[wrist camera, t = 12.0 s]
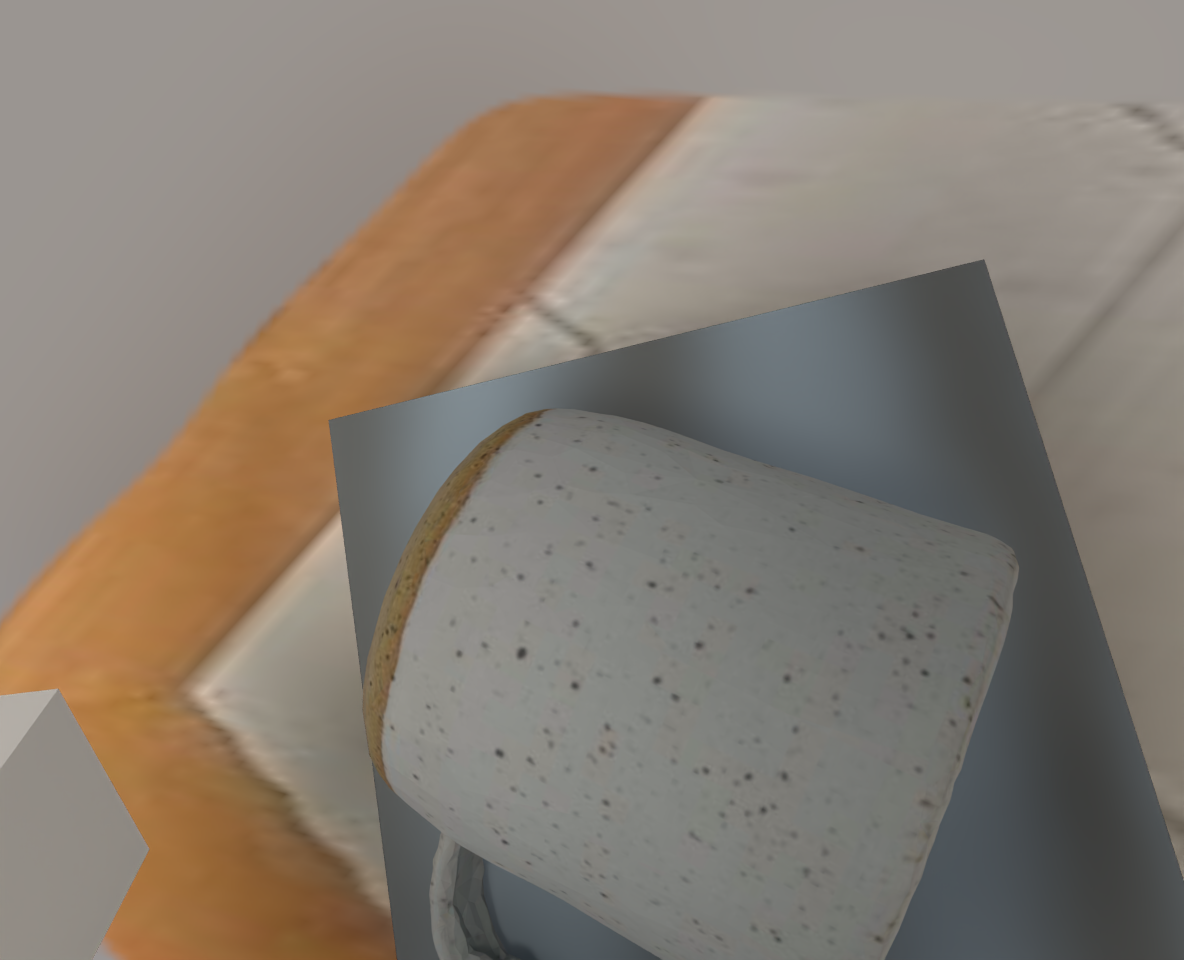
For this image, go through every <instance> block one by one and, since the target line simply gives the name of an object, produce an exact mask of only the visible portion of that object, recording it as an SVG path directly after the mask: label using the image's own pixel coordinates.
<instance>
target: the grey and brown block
mask: <svg viewBox="0 0 1184 960" xmlns="http://www.w3.org/2000/svg"><path fill="white" fill-rule="evenodd" d="M555 408H558V409H576V410H582V411H588V412H593V413H599V414H606V415H614V416H619V417H623V418H627V419H631V420H635V421H639V422H643V423H647V424H650V425H653V426H657V427H660V428H663V429H666V430H669V431H672V432H675V433H677V434H680V435H683V436H686V437H689V438H691V439H694V440H697V441H700V442H702V443H705V444H708V445H710V446H713V447H716V448H719V449H721V450H724V451H727V452H730V453H733V454H737V455H740V456H743V457H746V458H749V459H752V460H755V461H758V462H762V463H765V464H768V465H772V466H775V467H778V468H782V469H785V470H789V471H792V472H796V473H799V474H802V475H806V476H809V477H812V478H815V479H818V480H821V481H824V482H827V483H830V484H833V485H836V486H839V487H842V488H845V489H848V490H851V491H854V492H857V493H860V494H863V495H866V496H869V497H872V498H875V499H878V500H881V501H884V502H886V503H889V504H892V505H895V506H898V507H901V508H904V509H907V510H910V511H913V512H915V513H918V514H921V515H925V516H928V517H931V518H935V519H938V520H941V521H944V522H948V523H951V524H954V525H958V526H961V527H964V528H968V529H971V530H975V531H978V532H981V533H985V534H988V535H990V536H992V537H995V538H997V539H998V540H1001V541H1002V542H1004V543H1005V544H1006V545H1008V546H1009V547H1011V548H1012V549H1013V550H1014V552H1015V556H1016V559H1017V562H1018V565H1019V572H1018V580H1017V583H1016V586H1015V589H1014V592H1013V609H1012V614H1011V618H1010V623H1009V627H1008V631H1007V634H1006V638H1005V642H1004V645H1003V648H1002V651H1001V654H1000V657H999V660H998V663H997V666H996V668H995V671H994V674H993V677H992V680H991V683H990V685H989V688H988V691H987V694H986V697H985V699H984V702H983V705H982V707H981V710H980V713H979V716H978V718H977V721H976V724H975V727H974V730H973V733H972V736H971V739H970V742H969V745H968V748H967V751H966V754H965V758H964V762H963V765H962V769H961V771H960V773H959V775H958V777H957V778H956V780H955V782H954V787H953V791H952V795H951V800H950V802H949V804H948V807H947V809H946V811H945V813H944V816H943V818H942V820H941V823H940V826H939V829H938V832H937V835H936V838H935V841H934V844H933V846H932V848H931V851H930V853H929V856H928V858H927V861H926V865H925V868H924V872H923V875H922V878H921V880H920V882H919V884H918V886H917V888H916V890H915V892H914V894H913V896H912V898H911V901H910V903H909V906H908V908H907V911H906V913H905V916H904V918H903V921H902V924H901V926H900V929H899V931H898V933H897V935H896V937H895V939H894V941H893V943H892V945H891V947H890V949H889V951H888V953H887V955H886V957H885V960H1184V880H1183V877H1182V874H1181V871H1180V868H1179V865H1178V861H1177V858H1176V855H1175V852H1174V849H1173V846H1172V843H1171V840H1170V837H1169V833H1168V830H1167V827H1166V824H1165V821H1164V818H1163V815H1162V812H1161V809H1160V805H1159V802H1158V799H1157V796H1156V793H1155V790H1154V787H1153V784H1152V781H1151V777H1150V774H1149V771H1148V768H1147V765H1146V762H1145V759H1144V756H1143V753H1142V749H1141V746H1140V743H1139V740H1138V737H1137V734H1136V731H1135V728H1134V725H1133V721H1132V718H1131V715H1130V712H1129V709H1128V706H1127V703H1126V700H1125V697H1124V693H1123V690H1122V687H1121V684H1120V681H1119V678H1118V675H1117V672H1116V668H1115V665H1114V662H1113V659H1112V656H1111V653H1110V650H1109V647H1108V644H1107V640H1106V637H1105V634H1104V631H1103V628H1102V625H1101V622H1100V619H1099V616H1098V612H1097V609H1096V606H1095V603H1094V600H1093V597H1092V594H1091V591H1090V588H1089V584H1088V581H1087V578H1086V575H1085V572H1084V569H1083V566H1082V563H1081V560H1080V556H1079V553H1078V550H1077V547H1076V544H1075V541H1074V538H1073V535H1072V532H1071V528H1070V525H1069V522H1068V519H1067V516H1066V513H1065V510H1064V507H1063V504H1062V500H1061V497H1060V494H1059V491H1058V488H1057V485H1056V482H1055V479H1054V475H1053V472H1052V469H1051V466H1050V463H1049V460H1048V457H1047V454H1046V451H1045V447H1044V444H1043V441H1042V438H1041V435H1040V432H1039V429H1038V426H1037V423H1036V419H1035V416H1034V413H1033V410H1032V407H1031V404H1030V401H1029V398H1028V395H1027V391H1026V388H1025V385H1024V382H1023V379H1022V376H1021V373H1020V370H1019V367H1018V363H1017V360H1016V357H1015V354H1014V351H1013V348H1012V345H1011V342H1010V339H1009V335H1008V332H1007V329H1006V326H1005V323H1004V320H1003V317H1002V314H1001V311H1000V307H999V304H998V301H997V298H996V295H995V292H994V289H993V286H992V282H991V279H990V276H989V273H988V270H987V267H986V264H985V261H984V260H980V261H976V262H972V263H968V264H964V265H960V266H955V267H951V268H947V269H943V270H939V271H935V272H931V273H927V274H923V275H919V276H915V277H911V278H907V279H902V280H898V281H894V282H890V283H886V284H882V285H878V286H874V287H870V288H866V289H862V290H858V291H853V292H849V293H845V294H841V295H837V296H833V297H829V298H825V299H821V300H817V301H813V302H809V303H805V304H800V305H796V306H792V307H788V308H784V309H780V310H776V311H772V312H768V313H764V314H760V315H756V316H752V317H747V318H743V319H739V320H735V321H731V322H727V323H723V324H719V325H715V326H711V327H707V328H703V329H699V330H694V331H690V332H686V333H682V334H678V335H674V336H670V337H666V338H662V339H658V340H654V341H650V342H646V343H641V344H637V345H633V346H629V347H625V348H621V349H617V350H613V351H609V352H605V353H601V354H597V355H593V356H588V357H584V358H580V359H576V360H572V361H568V362H564V363H560V364H556V365H552V366H548V367H544V368H539V369H535V370H531V371H527V372H523V373H519V374H515V375H511V376H507V377H503V378H499V379H495V380H491V381H486V382H482V383H478V384H474V385H470V386H466V387H462V388H458V389H454V390H450V391H446V392H442V393H438V394H433V395H429V396H425V397H421V398H417V399H413V400H409V401H405V402H401V403H397V404H393V405H389V406H385V407H380V408H376V409H372V410H368V411H364V412H360V413H356V414H352V415H348V416H344V417H340V418H336V419H332V420H329V427H330V435H331V443H332V451H333V458H334V466H335V474H336V482H337V490H338V498H339V506H340V514H341V521H342V529H343V537H344V545H345V553H346V561H347V569H348V576H349V584H350V592H351V600H352V608H353V616H354V624H355V632H356V639H357V647H358V655H359V663H360V671H361V679H362V687H363V685H364V678H365V672H366V665H367V658H368V654H369V650H370V647H371V643H372V639H373V635H374V632H375V628H376V624H377V621H378V617H379V614H380V610H381V607H382V603H383V600H384V597H385V594H386V592H387V589H388V587H389V585H390V582H391V580H392V577H393V575H394V573H395V570H396V568H397V565H398V563H399V560H400V558H401V556H402V553H403V551H404V549H405V547H406V545H407V543H408V541H409V539H410V537H411V535H412V533H413V531H414V529H415V527H416V526H417V524H418V522H419V521H420V519H421V518H422V516H423V514H424V513H425V511H426V509H427V508H428V506H429V504H430V503H431V501H432V500H433V498H434V496H435V495H436V493H437V492H438V490H439V489H440V487H441V486H442V485H443V484H444V482H445V481H446V480H447V478H448V477H449V476H450V475H451V473H452V472H453V471H454V469H455V468H456V467H457V466H458V465H459V464H460V463H461V462H462V461H463V460H464V459H465V458H466V457H467V456H468V454H469V453H470V452H471V451H472V450H473V449H474V448H475V447H476V446H477V445H478V444H479V443H480V442H481V441H482V440H484V439H485V438H487V437H488V436H489V435H491V434H492V433H493V432H495V431H496V430H497V429H499V428H500V427H502V426H503V425H505V424H507V423H509V422H510V421H512V420H514V419H516V418H518V417H520V416H522V415H524V414H526V413H529V412H534V411H539V410H543V409H555ZM372 765H373V773H374V781H375V789H376V797H377V805H378V813H379V820H380V828H381V836H382V844H383V852H384V860H385V868H386V876H387V883H388V891H389V899H390V907H391V915H392V923H393V931H394V939H395V946H396V954H397V960H440V959H439V956H438V954H437V951H436V949H435V945H434V940H433V935H432V926H431V911H430V898H429V891H430V884H431V878H432V873H433V858H434V856H435V853H436V851H437V849H438V845H439V839H440V834H441V831H439V830H438V829H437V828H436V827H435V826H434V825H432V824H431V823H430V822H429V821H427V820H426V819H425V818H424V817H423V816H421V815H420V814H419V813H418V812H417V811H415V810H414V809H413V808H412V807H410V806H409V805H408V804H407V803H406V802H405V801H403V800H402V799H401V798H400V797H399V796H398V795H397V794H395V793H394V792H393V791H392V790H391V789H390V788H389V787H388V785H387V784H386V783H385V781H384V780H383V779H382V777H381V776H380V775H379V773H378V772H377V769H376V767H375V765H374V763H373V761H372ZM483 864H484V869H485V871H484V876H483V888H484V897H485V900H486V904H487V908H488V911H489V914H490V917H491V920H492V923H493V926H494V929H495V932H496V933H497V935H498V937H499V939H500V941H501V943H502V944H503V946H504V948H505V950H506V952H507V953H508V954H510V955H513V956H515V957H517V958H520V959H522V960H662V959H660V958H659V957H657V956H655V955H654V954H652V953H650V952H649V951H647V950H645V949H643V948H642V947H640V946H638V945H637V944H635V943H633V942H632V941H630V940H628V939H627V938H625V937H623V936H622V935H620V934H618V933H617V932H615V931H613V930H612V929H610V928H608V927H607V926H605V925H603V924H602V923H600V922H598V921H597V920H595V919H593V918H592V917H590V916H588V915H587V914H585V913H583V912H582V911H580V910H578V909H577V908H575V907H573V906H572V905H570V904H569V903H567V902H565V901H564V900H562V899H560V898H558V897H556V896H554V895H553V894H551V893H549V892H547V891H545V890H543V889H541V888H540V887H538V886H536V885H534V884H532V883H530V882H528V881H526V880H524V879H522V878H520V877H518V876H516V875H514V874H512V873H510V872H508V871H506V870H504V869H502V868H500V867H498V866H496V865H494V864H493V863H491V862H489V861H487V860H485V859H484V858H483Z"/></svg>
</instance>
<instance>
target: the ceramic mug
mask: <svg viewBox="0 0 1184 960" xmlns="http://www.w3.org/2000/svg"><path fill="white" fill-rule="evenodd" d="M1018 572H1019V565H1018V562H1017V559H1016V556H1015V552H1014V550H1013V549H1012V548H1011V547H1009V546H1008V545H1006V544H1005V543H1004V542H1002V541H1001V540H998V539H997V538H995V537H992V536H990V535H988V534H985V533H981V532H978V531H975V530H971V529H968V528H964V527H961V526H958V525H954V524H951V523H948V522H944V521H941V520H938V519H935V518H931V517H928V516H925V515H921V514H918V513H915V512H913V511H910V510H907V509H904V508H901V507H898V506H895V505H892V504H889V503H886V502H884V501H881V500H878V499H875V498H872V497H869V496H866V495H863V494H860V493H857V492H854V491H851V490H848V489H845V488H842V487H839V486H836V485H833V484H830V483H827V482H824V481H821V480H818V479H815V478H812V477H809V476H806V475H802V474H799V473H796V472H792V471H789V470H785V469H782V468H778V467H775V466H772V465H768V464H765V463H762V462H758V461H755V460H752V459H749V458H746V457H743V456H740V455H737V454H733V453H730V452H727V451H724V450H721V449H719V448H716V447H713V446H710V445H708V444H705V443H702V442H700V441H697V440H694V439H691V438H689V437H686V436H683V435H680V434H677V433H675V432H672V431H669V430H666V429H663V428H660V427H657V426H653V425H650V424H647V423H643V422H639V421H635V420H631V419H627V418H623V417H619V416H614V415H606V414H599V413H593V412H588V411H582V410H576V409H558V408H555V409H543V410H539V411H534V412H529V413H526V414H524V415H522V416H520V417H518V418H516V419H514V420H512V421H510V422H509V423H507V424H505V425H503V426H502V427H500V428H499V429H497V430H496V431H495V432H493V433H492V434H491V435H489V436H488V437H487V438H485V439H484V440H482V441H481V442H480V443H479V444H478V445H477V446H476V447H475V448H474V449H473V450H472V451H471V452H470V453H469V454H468V456H467V457H466V458H465V459H464V460H463V461H462V462H461V463H460V464H459V465H458V466H457V467H456V468H455V469H454V471H453V472H452V473H451V475H450V476H449V477H448V478H447V480H446V481H445V482H444V484H443V485H442V486H441V487H440V489H439V490H438V492H437V493H436V495H435V496H434V498H433V500H432V501H431V503H430V504H429V506H428V508H427V509H426V511H425V513H424V514H423V516H422V518H421V519H420V521H419V522H418V524H417V526H416V527H415V529H414V531H413V533H412V535H411V537H410V539H409V541H408V543H407V545H406V547H405V549H404V551H403V553H402V556H401V558H400V560H399V563H398V565H397V568H396V570H395V573H394V575H393V577H392V580H391V582H390V585H389V587H388V589H387V592H386V594H385V597H384V600H383V603H382V607H381V610H380V614H379V617H378V621H377V624H376V628H375V632H374V635H373V639H372V643H371V647H370V650H369V654H368V658H367V665H366V672H365V678H364V685H363V715H364V722H365V728H366V735H367V742H368V748H369V755H370V757H371V759H372V761H373V763H374V765H375V767H376V769H377V772H378V773H379V775H380V776H381V777H382V779H383V780H384V781H385V783H386V784H387V785H388V787H389V788H390V789H391V790H392V791H393V792H394V793H395V794H397V795H398V796H399V797H400V798H401V799H402V800H403V801H405V802H406V803H407V804H408V805H409V806H410V807H412V808H413V809H414V810H415V811H417V812H418V813H419V814H420V815H421V816H423V817H424V818H425V819H426V820H427V821H429V822H430V823H431V824H432V825H434V826H435V827H436V828H437V829H438V830H439V831H441V834H440V839H439V845H438V849H437V851H436V853H435V856H434V858H433V873H432V878H431V884H430V891H429V898H430V911H431V926H432V935H433V940H434V945H435V949H436V951H437V954H438V956H439V959H440V960H522V959H520V958H517V957H515V956H513V955H510V954H508V953H507V952H506V950H505V948H504V946H503V944H502V943H501V941H500V939H499V937H498V935H497V933H496V932H495V929H494V926H493V923H492V920H491V917H490V914H489V911H488V908H487V904H486V900H485V897H484V888H483V876H484V871H485V869H484V864H483V858H484V859H485V860H487V861H489V862H491V863H493V864H494V865H496V866H498V867H500V868H502V869H504V870H506V871H508V872H510V873H512V874H514V875H516V876H518V877H520V878H522V879H524V880H526V881H528V882H530V883H532V884H534V885H536V886H538V887H540V888H541V889H543V890H545V891H547V892H549V893H551V894H553V895H554V896H556V897H558V898H560V899H562V900H564V901H565V902H567V903H569V904H570V905H572V906H573V907H575V908H577V909H578V910H580V911H582V912H583V913H585V914H587V915H588V916H590V917H592V918H593V919H595V920H597V921H598V922H600V923H602V924H603V925H605V926H607V927H608V928H610V929H612V930H613V931H615V932H617V933H618V934H620V935H622V936H623V937H625V938H627V939H628V940H630V941H632V942H633V943H635V944H637V945H638V946H640V947H642V948H643V949H645V950H647V951H649V952H650V953H652V954H654V955H655V956H657V957H659V958H660V959H662V960H885V957H886V955H887V953H888V951H889V949H890V947H891V945H892V943H893V941H894V939H895V937H896V935H897V933H898V931H899V929H900V926H901V924H902V921H903V918H904V916H905V913H906V911H907V908H908V906H909V903H910V901H911V898H912V896H913V894H914V892H915V890H916V888H917V886H918V884H919V882H920V880H921V878H922V875H923V872H924V868H925V865H926V861H927V858H928V856H929V853H930V851H931V848H932V846H933V844H934V841H935V838H936V835H937V832H938V829H939V826H940V823H941V820H942V818H943V816H944V813H945V811H946V809H947V807H948V804H949V802H950V800H951V795H952V791H953V787H954V782H955V780H956V778H957V777H958V775H959V773H960V771H961V769H962V765H963V762H964V758H965V754H966V751H967V748H968V745H969V742H970V739H971V736H972V733H973V730H974V727H975V724H976V721H977V718H978V716H979V713H980V710H981V707H982V705H983V702H984V699H985V697H986V694H987V691H988V688H989V685H990V683H991V680H992V677H993V674H994V671H995V668H996V666H997V663H998V660H999V657H1000V654H1001V651H1002V648H1003V645H1004V642H1005V638H1006V634H1007V631H1008V627H1009V623H1010V618H1011V614H1012V609H1013V592H1014V589H1015V586H1016V583H1017V580H1018Z"/></svg>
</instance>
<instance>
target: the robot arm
mask: <svg viewBox="0 0 1184 960" xmlns="http://www.w3.org/2000/svg"><path fill="white" fill-rule="evenodd" d="M148 851H149V848H148V846H147V844H146V842H145V841H144V839H143V837H142V835H141V833H140V832H139V830H138V828H137V826H136V825H135V823H134V821H133V819H132V818H131V816H130V814H129V812H128V811H127V809H126V807H125V805H124V804H123V802H122V800H121V798H120V797H119V795H118V793H117V791H116V789H115V788H114V786H113V784H112V782H111V781H110V779H109V777H108V775H107V774H106V772H105V770H104V768H103V767H102V765H101V763H100V761H99V760H98V758H97V756H96V754H95V753H94V751H93V749H92V747H91V746H90V744H89V742H88V740H87V738H86V737H85V735H84V733H83V731H82V730H81V728H80V726H79V724H78V723H77V721H76V719H75V717H74V716H73V714H72V712H71V710H70V709H69V707H68V705H67V703H66V702H65V700H64V698H63V696H62V694H61V693H60V691H59V689H53V690H44V691H36V692H27V693H19V694H11V695H2V696H0V960H92V959H93V957H94V956H95V954H96V952H97V950H98V948H99V946H100V944H101V942H102V940H103V938H104V936H105V934H106V932H107V930H108V928H109V926H110V925H111V923H112V921H113V919H114V917H115V915H116V913H117V911H118V909H119V907H120V905H121V903H122V901H123V899H124V897H125V895H126V894H127V892H128V890H129V888H130V886H131V884H132V882H133V880H134V878H135V876H136V874H137V872H138V870H139V868H140V866H141V864H142V863H143V861H144V859H145V857H146V855H147V853H148Z"/></svg>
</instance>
